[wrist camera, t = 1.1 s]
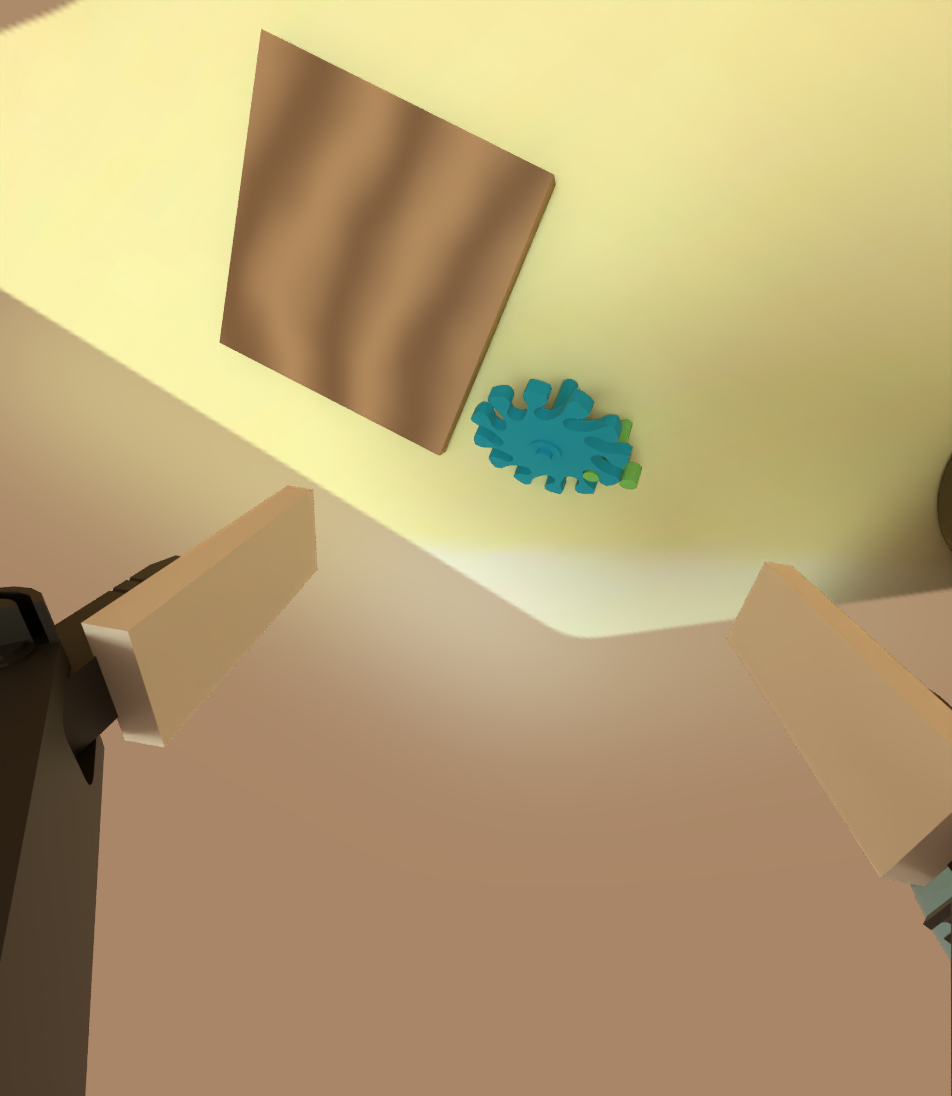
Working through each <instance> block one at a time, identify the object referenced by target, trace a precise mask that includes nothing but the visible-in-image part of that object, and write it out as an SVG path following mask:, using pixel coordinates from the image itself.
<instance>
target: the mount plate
mask: <svg viewBox="0 0 952 1096" xmlns="http://www.w3.org/2000/svg"><path fill="white" fill-rule="evenodd" d="M554 187H555V179H554V175H553V174H551V173H549V172H547V171H545V170H543V169H541V168H539V167H537V166H535V165H533V164H531V163H529V162H527V161H525V160H523V159H521V158H519V157H517V156H515V155H513V154H511V153H509V152H507V151H505V150H503V149H501V148H499V147H497V146H495V145H493V144H491V143H489V142H487V141H485V140H483V139H481V138H479V137H477V136H475V135H473V134H471V133H469V132H467V131H465V130H463V129H461V128H459V127H457V126H455V125H453V124H451V123H449V122H447V121H445V120H443V119H441V118H439V117H437V116H435V115H433V114H431V113H429V112H427V111H425V110H423V109H421V108H419V107H417V106H415V105H413V104H411V103H409V102H407V101H405V100H403V99H401V98H399V97H397V96H395V95H393V94H391V93H389V92H387V91H385V90H383V89H381V88H379V87H377V86H375V85H373V84H371V83H369V82H367V81H365V80H363V79H361V78H359V77H357V76H355V75H353V74H351V73H349V72H347V71H345V70H343V69H341V68H338V67H336V66H334V65H332V64H330V63H328V62H326V61H324V60H322V59H320V58H318V57H316V56H314V55H312V54H310V53H308V52H306V51H304V50H302V49H300V48H298V47H296V46H294V45H292V44H290V43H288V42H286V41H284V40H282V39H280V38H278V37H276V36H274V35H272V34H270V33H268V32H266V31H264V30H262V29H261V36H260V43H259V51H258V58H257V66H256V73H255V81H254V88H253V96H252V103H251V111H250V118H249V126H248V133H247V141H246V148H245V156H244V163H243V171H242V178H241V186H240V193H239V201H238V208H237V216H236V223H235V231H234V238H233V246H232V253H231V261H230V268H229V276H228V283H227V291H226V298H225V306H224V313H223V321H222V328H221V336H220V343H222V344H223V345H225V346H227V347H229V348H231V349H233V350H235V351H237V352H239V353H241V354H243V355H245V356H247V357H249V358H251V359H253V360H255V361H257V362H258V363H260V364H262V365H264V366H266V367H268V368H270V369H272V370H274V371H276V372H278V373H280V374H282V375H284V376H286V377H288V378H290V379H292V380H293V381H295V382H297V383H299V384H301V385H303V386H305V387H307V388H309V389H311V390H313V391H315V392H317V393H319V394H321V395H323V396H325V397H326V398H328V399H330V400H332V401H334V402H336V403H338V404H340V405H342V406H344V407H346V408H348V409H350V410H352V411H354V412H356V413H358V414H360V415H361V416H363V417H365V418H367V419H369V420H371V421H373V422H375V423H377V424H379V425H381V426H383V427H385V428H387V429H389V430H391V431H393V432H395V433H396V434H398V435H400V436H402V437H404V438H406V439H408V440H410V441H412V442H414V443H416V444H418V445H420V446H422V447H424V448H426V449H428V450H430V451H431V452H433V453H435V454H437V455H441V454H442V453H444V452H445V451H446V448H447V446H448V443H449V441H450V439H451V436H452V434H453V431H454V429H455V427H456V424H457V422H458V419H459V417H460V414H461V412H462V410H463V407H464V405H465V402H466V400H467V397H468V395H469V393H470V390H471V388H472V385H473V383H474V381H475V378H476V376H477V373H478V371H479V368H480V366H481V364H482V361H483V359H484V356H485V354H486V352H487V349H488V347H489V344H490V342H491V339H492V337H493V335H494V332H495V330H496V327H497V325H498V323H499V320H500V318H501V315H502V313H503V310H504V308H505V306H506V303H507V301H508V298H509V296H510V293H511V291H512V289H513V286H514V284H515V281H516V279H517V277H518V274H519V272H520V269H521V267H522V264H523V262H524V260H525V257H526V255H527V252H528V250H529V248H530V245H531V243H532V240H533V238H534V235H535V233H536V231H537V228H538V226H539V223H540V221H541V218H542V216H543V214H544V211H545V209H546V206H547V204H548V202H549V199H550V197H551V194H552V192H553V189H554Z"/></svg>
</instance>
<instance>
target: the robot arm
mask: <svg viewBox="0 0 952 1096" xmlns="http://www.w3.org/2000/svg"><path fill="white" fill-rule="evenodd" d="M938 515H939V522H940V526H941V530H942V533H943V536H944V538H945V540H946V542H947V544H948V545H949V547H950V548H951V550H952V458H951V460H950V462H949V464H948V467H947V469H946V471H945V474H944V477H943V480H942V484H941V487H940V493H939V501H938ZM316 571H317V555H316V536H315V517H314V499H313V490H312V489H306V488H300V487H294V486H286V487H285V488H283V489H282V490H280V491H279V492H277V493H276V494H274V495H273V496H271V497H270V498H268V499H267V500H265V501H264V502H262V503H261V504H259V505H258V506H256V507H255V508H253V509H252V510H250V511H249V512H247V513H246V514H244V515H243V516H241V517H240V518H238V519H237V520H235V521H234V522H232V523H231V524H229V525H228V526H226V527H225V528H223V529H222V530H220V531H219V532H217V533H216V534H214V535H213V536H211V537H210V538H208V539H207V540H205V541H204V542H202V543H201V544H199V545H198V546H196V547H195V548H193V549H191V550H190V551H188V552H187V553H185V554H184V555H183V556H173V557H170V558H168V559H165V560H162V561H160V562H157V563H154V564H151V565H149V566H148V567H146V568H145V569H143V570H141V571H140V572H138V573H137V574H135V575H133V576H132V577H130V580H129V581H128V580H126V581H124V582H123V583H121V584H119V585H118V586H116V587H114V588H113V591H108V592H107V593H105V594H103V595H102V596H100V597H99V598H97V599H96V600H94V601H92V602H91V603H89V604H88V605H86V606H84V607H83V608H81V609H80V610H78V611H77V612H75V613H73V614H72V615H70V616H69V617H67V618H66V619H64V620H62V621H61V622H59V623H58V624H56V625H54V622H53V620H52V618H51V615H50V613H49V610H48V608H47V605H46V603H45V601H44V598H43V596H42V593H40V592H38V591H36V590H34V589H32V588H23V587H4V588H0V1096H85V1090H86V1089H85V1088H86V1072H87V1054H88V1035H89V1017H90V999H91V981H92V962H93V961H92V960H93V943H94V926H95V925H94V924H95V907H96V889H97V871H98V870H97V869H98V852H99V833H100V816H101V797H102V778H103V760H104V745H103V742H102V739H101V736H100V734H101V733H102V732H103V731H104V730H105V729H106V728H107V727H108V726H109V725H110V724H111V723H112V722H113V721H114V720H115V719H117V720H118V722H119V725H120V728H121V730H122V733H123V736H124V738H125V740H127V741H133V742H139V743H144V744H150V745H155V746H160V747H165V746H166V745H167V744H168V743H169V741H170V740H171V739H172V738H173V737H174V736H175V734H176V733H177V732H178V731H179V730H180V728H182V726H183V725H184V724H185V723H186V722H187V721H188V719H189V718H190V717H191V716H192V715H193V714H194V712H195V711H196V710H197V709H198V708H199V707H200V705H201V704H202V703H203V702H204V701H205V699H206V698H207V697H208V696H209V695H210V694H211V693H212V691H213V690H214V689H215V688H216V687H217V686H218V685H219V683H220V682H221V681H222V680H223V679H224V678H225V676H226V675H227V674H228V673H229V672H230V671H231V669H232V668H233V667H234V666H235V665H236V664H237V662H238V661H239V660H240V659H241V658H242V657H243V655H244V654H245V653H246V652H247V651H248V650H249V648H250V647H251V646H252V645H253V644H254V643H255V642H256V640H257V639H258V638H259V637H260V636H261V634H262V633H263V632H264V631H265V630H266V629H267V628H268V626H269V625H270V624H271V623H272V622H273V621H274V619H275V618H276V617H277V616H278V615H279V614H280V612H281V611H282V610H283V609H284V608H285V607H286V605H287V604H288V603H289V602H290V601H291V600H292V598H293V597H294V596H295V595H296V594H297V593H298V591H299V590H300V589H301V588H302V587H303V586H304V584H305V583H306V582H307V581H308V580H309V579H310V578H311V576H312V575H313V574H314V573H315V572H316ZM727 640H728V641H729V643H730V644H731V646H732V647H733V649H734V650H735V652H736V653H737V655H738V657H739V658H740V660H741V662H742V663H743V665H744V666H745V668H746V669H747V671H748V672H749V674H750V676H751V677H752V679H753V680H754V682H755V683H756V685H757V687H758V688H759V690H760V691H761V693H762V694H763V696H764V697H765V699H766V700H767V702H768V704H769V705H770V707H771V708H772V710H773V711H774V713H775V714H776V716H777V718H778V719H779V721H780V722H781V724H782V725H783V727H784V729H785V730H786V732H787V733H788V735H789V736H790V738H791V739H792V741H793V743H794V744H795V746H796V747H797V749H798V750H799V752H800V754H801V755H802V757H803V758H804V760H805V761H806V763H807V765H808V766H809V768H810V769H811V771H812V772H813V774H814V775H815V777H816V778H817V780H818V781H819V783H820V785H821V786H822V788H823V790H824V791H825V793H826V794H827V796H828V797H829V799H830V800H831V802H832V804H833V805H834V807H835V808H836V810H837V811H838V813H839V814H840V816H841V818H842V819H843V821H844V822H845V824H846V825H847V827H848V829H849V830H850V831H851V833H852V835H853V836H854V838H855V839H856V841H857V843H858V844H859V846H860V847H861V849H862V850H863V852H864V853H865V855H866V857H867V858H868V860H869V861H870V863H871V864H872V866H873V867H874V869H875V871H876V872H877V874H878V875H879V877H880V878H882V879H887V880H892V881H898V882H903V883H909V884H910V885H911V887H912V889H913V892H914V894H915V898H916V901H917V903H918V905H919V907H920V909H921V910H922V912H923V914H924V916H925V918H926V919H925V921H924V923H923V924H924V925H925V926H926V927H928V928H929V929H931V930H932V931H933V933H934V935H935V936H936V938H937V940H938V941H939V943H940V945H941V946H942V948H943V950H944V951H945V953H946V955H947V956H948V958H949V960H950V961H951V1096H952V707H951V706H950V705H949V704H948V703H947V702H946V701H944V700H943V699H942V698H941V697H940V696H938V695H937V694H936V693H934V692H932V691H931V690H930V689H928V688H927V687H925V686H924V685H923V684H922V683H921V682H920V681H919V680H918V679H916V678H915V677H914V676H913V675H912V674H911V673H910V672H909V671H908V670H907V669H906V668H904V667H903V666H902V665H901V664H900V663H899V662H898V661H897V660H896V659H894V658H893V657H892V656H891V655H890V654H889V653H888V652H887V651H885V649H883V648H882V647H881V646H880V645H879V644H878V643H877V642H876V641H875V640H873V639H872V638H871V637H870V636H869V635H868V634H867V633H865V631H863V630H862V629H861V628H860V627H859V626H858V625H857V624H856V623H854V621H852V620H851V619H850V618H849V617H848V616H847V615H846V614H845V613H844V612H842V611H841V610H840V609H839V608H838V607H837V606H836V605H835V604H834V603H832V602H831V601H830V600H829V599H828V598H827V597H826V596H825V595H824V594H823V593H821V592H820V591H819V590H818V589H817V588H816V587H815V586H814V585H813V584H811V583H810V582H809V581H808V580H807V579H806V578H805V577H804V576H803V575H801V574H800V573H799V572H798V571H797V570H796V569H795V568H794V567H793V566H787V565H781V564H775V563H769V562H765V563H764V565H763V567H762V569H761V571H760V573H759V575H758V577H757V579H756V581H755V583H754V585H753V587H752V589H751V590H750V592H749V594H748V596H747V598H746V600H745V602H744V604H743V606H742V608H741V610H740V612H739V614H738V616H737V618H736V620H735V622H734V624H733V626H732V628H731V630H730V632H729V634H728V636H727Z"/></svg>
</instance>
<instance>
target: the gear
mask: <svg viewBox="0 0 952 1096" xmlns="http://www.w3.org/2000/svg"><path fill="white" fill-rule="evenodd" d="M577 387H578V385H577V383H576V382H575V381H574V380H571V379H566V380H564V381H563V383H562V386H561V388H560V391H559V394H558V396H557V399H556V402H555V404H554V407H553V409H545V408H543V407H542V406H544V405H545V404H546V403H547V401H548V398H549V395H550V393H551V390H552V387H551V385H550V384H548V383H546V382H543V381H539V380H535V379H530V380H529V382H528V384H527V387H526V389H525V392H524V394H523V397H524V400H525V402H526V404H527V409H526V410H519V409H517V408H515V407H514V406H513V405H512V400H513V397H514V390H513V389H512V388H511V387H510V386H508V385H501V386H496V387H493V388H492V390H491V392H490V395H489V397H488V402H489V403H487V402H485V401H484V402H481V403H480V404H479V405H478V406H477V407H476V409H475V411H474V413H473V415H472V417H471V420H472V421H473V422H474V423H476V424H478V425H479V427H478V429H477V432H476V434H475V436H474V441H475V444H476V445H478V446H481V447H491V448H493V449H492V451H491V453H490V456H489V460H490V461H491V463H492V464H493V465H494V466H495V467H497V468H503V467H505V466H509V465H517V466H518V467H517V470H516V472H515V475H514V477H515V478H516V479H517V480H519V481H520V482H522V483H524V484H530V483H531V481H532V479H533V478H534V477H537V476H541V475H549V476H548V479H547V482H546V484H545V489H547V490H549V491H551V492H555V493H558V494H561V493H562V491H563V489H564V486H565V483H566V480H565V477H567V476H571V477H575V478H576V479H578V480H577V483H576V486H575V490H576V491H577V492H578V493H585V494H593V493H594V491H595V488H596V485H597V481H598V480H599V481H600V482H601V483H602V484H604V485H606V486H608V485H613V484H616V483H618V482H620V485H621V486H622V487H623V488H626V489H635V488H636V487H637V484H638V480H639V477H640V473H641V470H642V467H641V466H640V465H639V464H637V463H634V462H629V459H630V456H631V450H632V447H633V446H631V445H630V444H627V441H628V438H629V434H630V431H631V428H632V422H631V421H630V420H623V421H622V422H621V420H620V419H619V417H618V416H617V415H606V416H604V417H602V418H600V419H596V420H579V419H585V418H587V417H588V416H589V415H590V412H591V409H592V406H593V403H594V401H593V400H592V398H591V397H590V396H588V395H587V394H586V393H584V392H583V391H581V390H580V389H578V390H577ZM494 408H495V409H496V410H497V411H498V412H499V413H500V414H501V415H502V417H503V418H504V420H502V419H500V418H498V417H497V415H496V414H495V410H494ZM621 476H622V477H621ZM620 479H621V480H620Z"/></svg>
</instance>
